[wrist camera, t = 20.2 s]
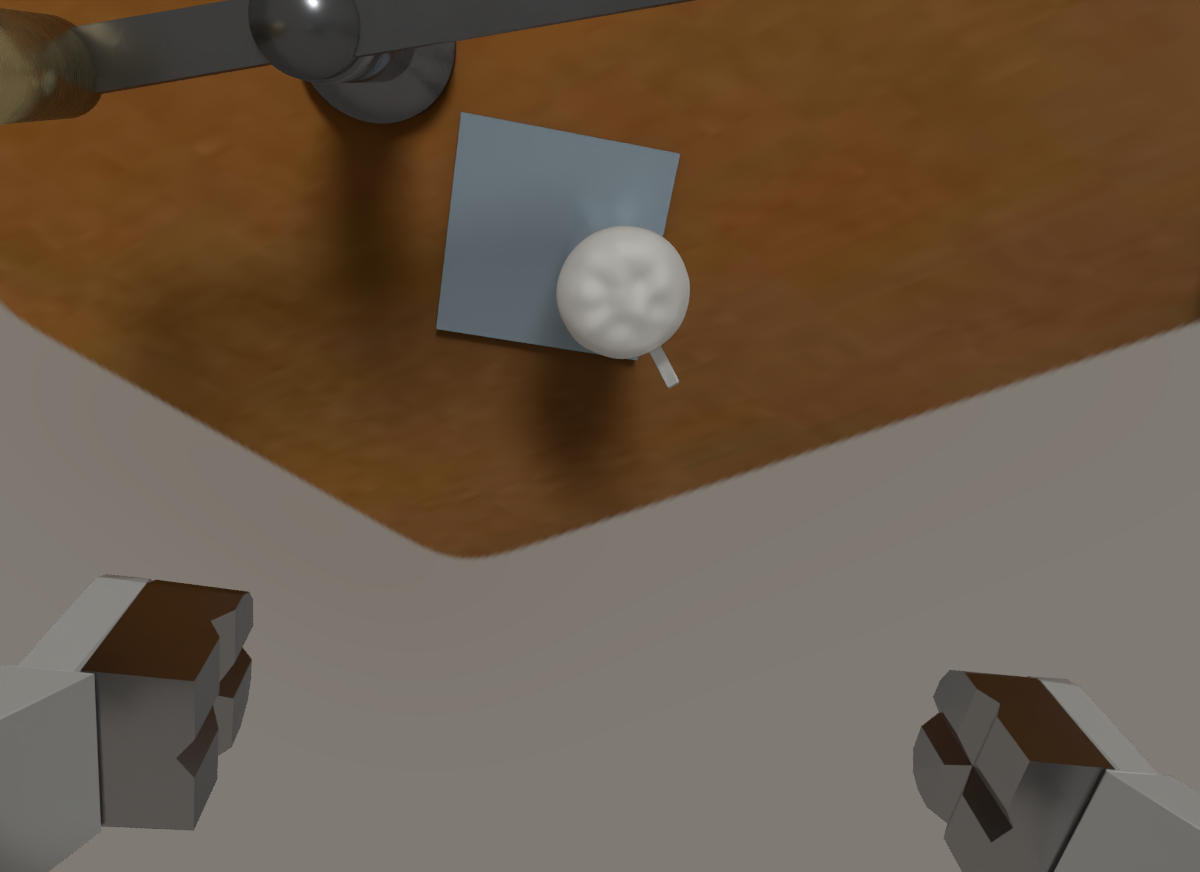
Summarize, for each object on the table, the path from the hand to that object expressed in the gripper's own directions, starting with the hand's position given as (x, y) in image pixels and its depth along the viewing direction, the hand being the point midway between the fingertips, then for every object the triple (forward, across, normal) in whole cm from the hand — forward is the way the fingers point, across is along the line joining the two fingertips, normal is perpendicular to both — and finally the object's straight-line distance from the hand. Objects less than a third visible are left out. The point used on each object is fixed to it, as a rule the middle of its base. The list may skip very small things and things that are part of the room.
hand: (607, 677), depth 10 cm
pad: (+29, 0, 0) cm, 29 cm away
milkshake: (+29, -2, 0) cm, 29 cm away
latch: (+19, +7, -7) cm, 21 cm away
